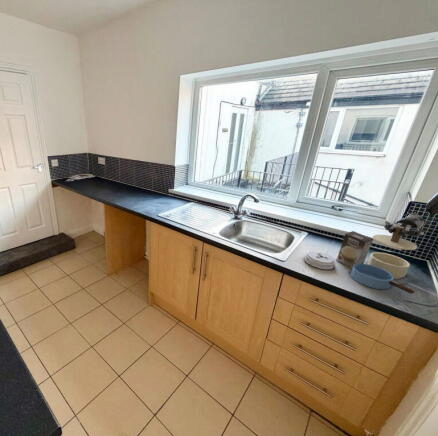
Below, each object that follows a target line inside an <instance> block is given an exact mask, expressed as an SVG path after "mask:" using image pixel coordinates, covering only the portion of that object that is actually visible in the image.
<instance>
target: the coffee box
mask: <svg viewBox="0 0 438 436" xmlns="http://www.w3.org/2000/svg"><path fill="white" fill-rule="evenodd" d="M373 241H374V240H373V237H369V236H367V235H364V234H362V233H360V232H356V231H354V230H352V231H348V232H347V233H345V234H344V236H343V239H342V241H341V242H342V243H341V245H340V249H339V251H338V254H337V257H336V259H335V261H336V262H338V263H341V264H343V265H344V266H347V267H348V268H350V269H352V268H353V266H354V265H355V264H365V262H366V259H367V257H368V254H369V251H370V250H371V249H370V248H371V246H372V243H373Z"/></svg>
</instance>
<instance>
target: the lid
mask: <svg viewBox="0 0 438 436" xmlns="http://www.w3.org/2000/svg"><path fill="white" fill-rule="evenodd" d="M304 261H305V262H306V263H307V264H308V265H310V266H312V267H314V268H317V269H322V270H333V269H334V268H335V265H336V263H337V261H336V259H335V258H334V257H333V256H332V255H330V254H328V253H326V252H323V251H319V250H309V251H306V253H305V256H304Z"/></svg>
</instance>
